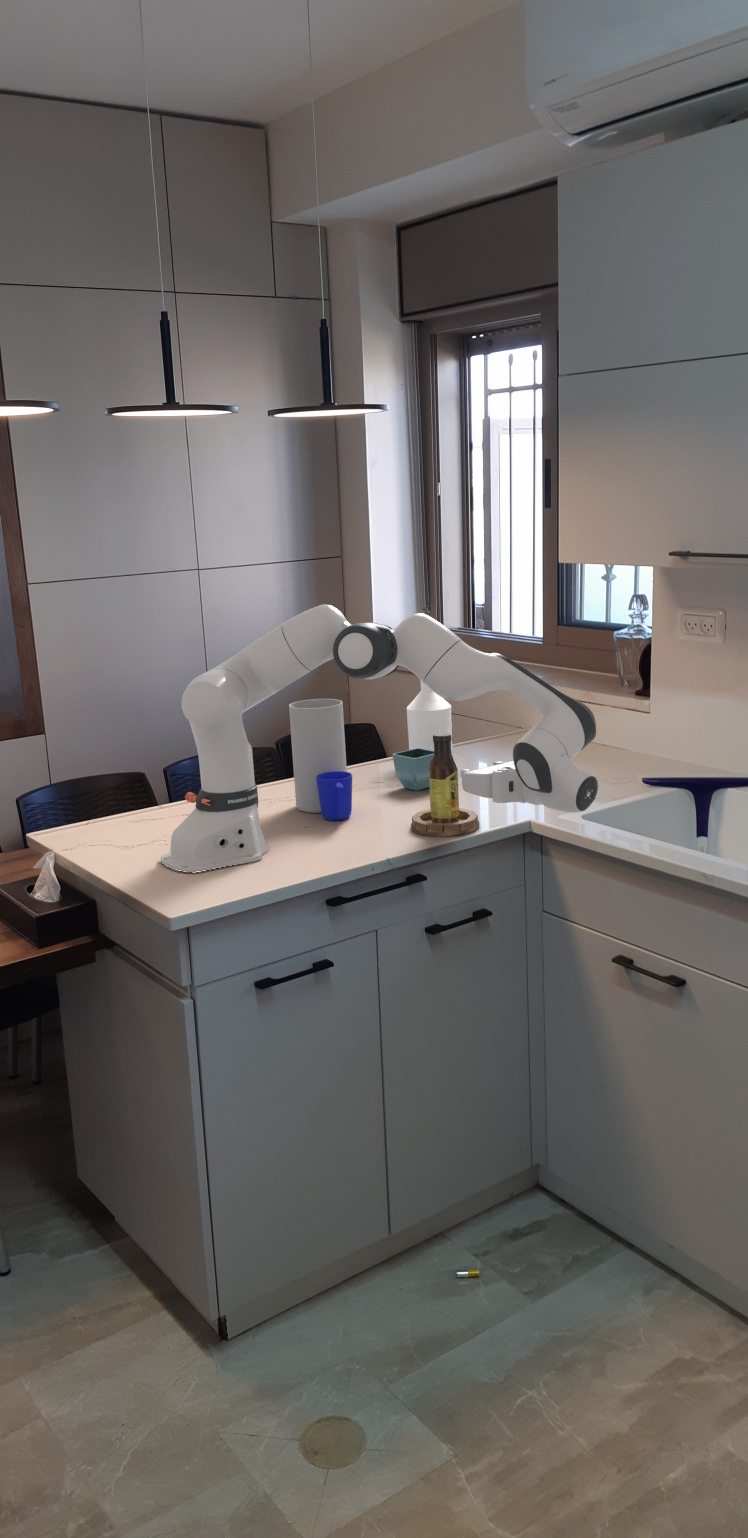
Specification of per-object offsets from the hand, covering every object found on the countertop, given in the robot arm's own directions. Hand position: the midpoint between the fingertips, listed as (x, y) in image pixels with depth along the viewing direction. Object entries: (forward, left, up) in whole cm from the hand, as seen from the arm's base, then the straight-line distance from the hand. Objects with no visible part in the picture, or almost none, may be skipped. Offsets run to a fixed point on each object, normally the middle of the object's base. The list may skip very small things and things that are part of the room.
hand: (479, 769), depth 242 cm
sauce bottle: (0, +12, -14) cm, 18 cm away
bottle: (+37, +58, -15) cm, 70 cm away
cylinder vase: (-8, +46, -15) cm, 49 cm away
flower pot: (+19, +43, -15) cm, 49 cm away
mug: (-12, +35, -15) cm, 39 cm away
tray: (0, +12, -15) cm, 19 cm away
